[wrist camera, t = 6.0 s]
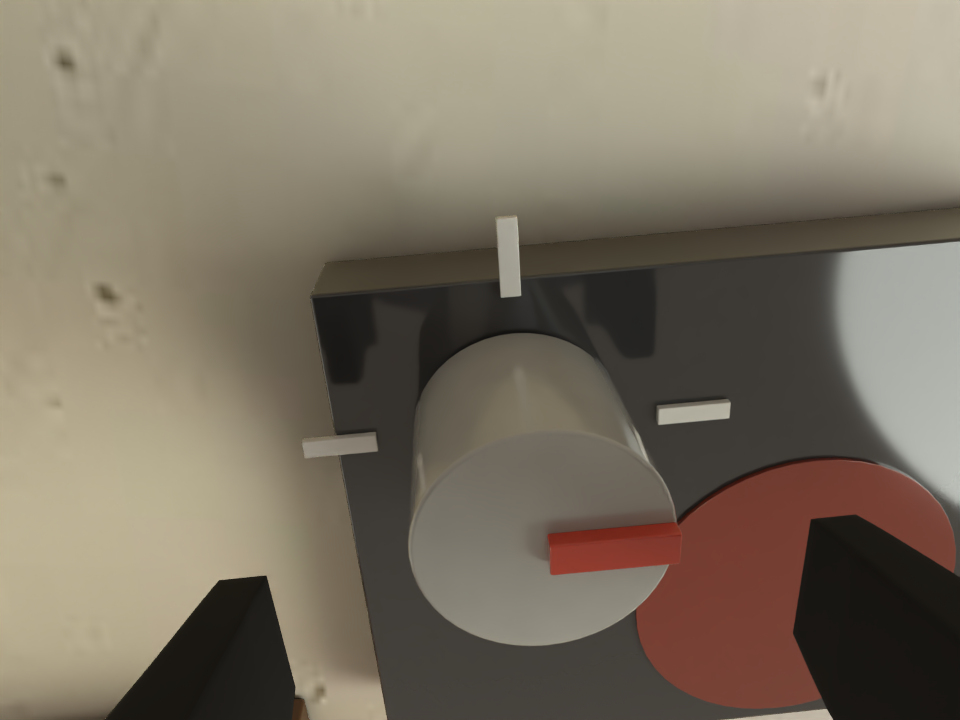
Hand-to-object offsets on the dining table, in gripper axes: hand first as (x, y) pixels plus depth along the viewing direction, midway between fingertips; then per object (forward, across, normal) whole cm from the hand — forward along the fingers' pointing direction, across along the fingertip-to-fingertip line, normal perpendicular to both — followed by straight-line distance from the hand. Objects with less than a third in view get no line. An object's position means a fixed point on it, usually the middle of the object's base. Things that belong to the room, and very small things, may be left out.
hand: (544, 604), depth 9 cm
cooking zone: (+5, -6, +5) cm, 9 cm away
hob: (+7, -4, +3) cm, 8 cm away
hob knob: (+5, 0, 0) cm, 5 cm away
